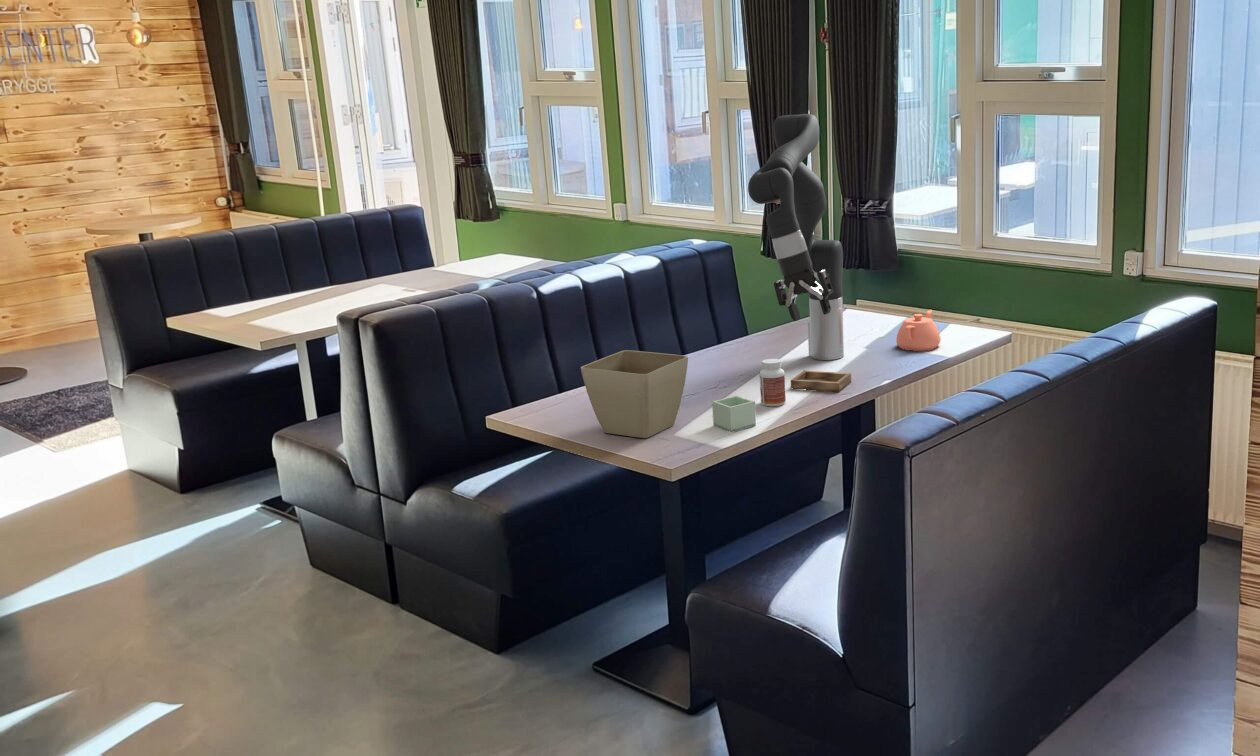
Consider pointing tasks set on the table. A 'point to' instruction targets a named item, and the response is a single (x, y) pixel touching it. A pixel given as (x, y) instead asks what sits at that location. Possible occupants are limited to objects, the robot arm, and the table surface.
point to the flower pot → (636, 391)
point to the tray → (821, 381)
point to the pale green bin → (734, 413)
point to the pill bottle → (772, 383)
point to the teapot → (918, 333)
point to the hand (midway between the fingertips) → (812, 316)
